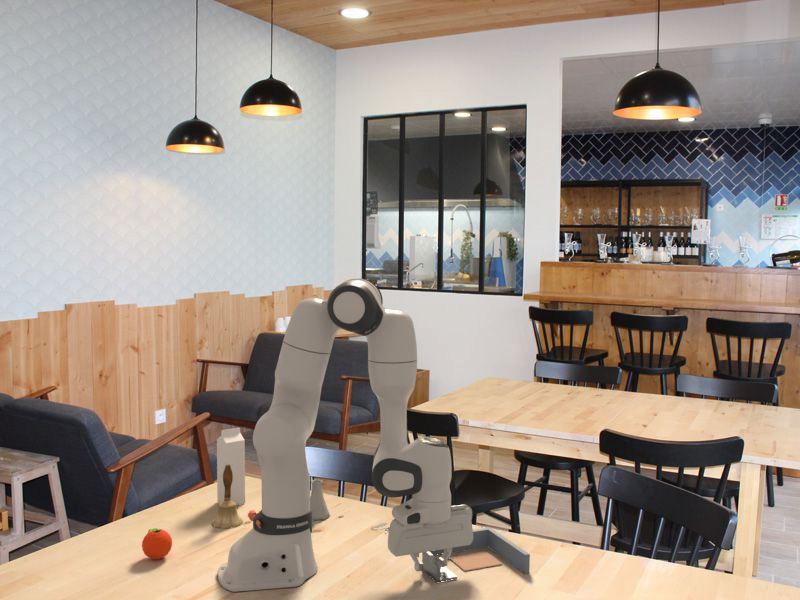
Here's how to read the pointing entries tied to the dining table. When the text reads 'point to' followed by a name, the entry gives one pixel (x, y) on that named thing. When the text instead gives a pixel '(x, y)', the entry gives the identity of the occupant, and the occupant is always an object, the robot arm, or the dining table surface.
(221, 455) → the milk
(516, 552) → the grey l-shaped piece
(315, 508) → the flask
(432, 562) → the angle bracket
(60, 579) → the dining table surface
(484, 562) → the mat
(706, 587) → the dining table surface
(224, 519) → the wooden handled brush
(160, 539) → the clementine
